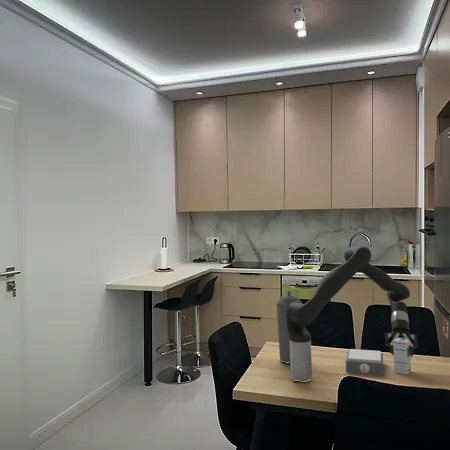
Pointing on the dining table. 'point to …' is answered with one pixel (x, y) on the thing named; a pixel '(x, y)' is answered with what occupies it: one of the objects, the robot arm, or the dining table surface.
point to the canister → (284, 325)
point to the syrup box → (402, 356)
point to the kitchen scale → (365, 362)
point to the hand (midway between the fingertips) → (402, 355)
